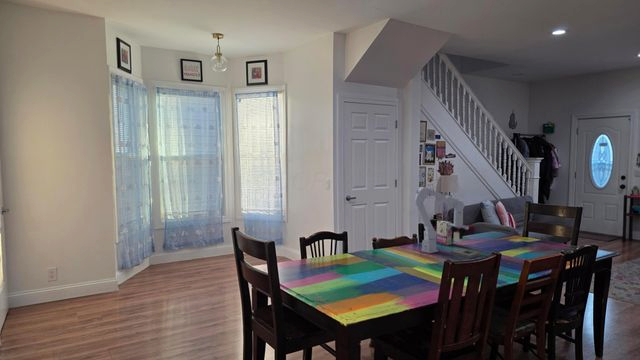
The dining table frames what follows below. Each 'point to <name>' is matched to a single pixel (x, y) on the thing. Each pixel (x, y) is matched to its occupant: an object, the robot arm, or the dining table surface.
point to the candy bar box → (444, 233)
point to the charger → (457, 237)
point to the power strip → (465, 253)
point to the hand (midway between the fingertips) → (457, 238)
